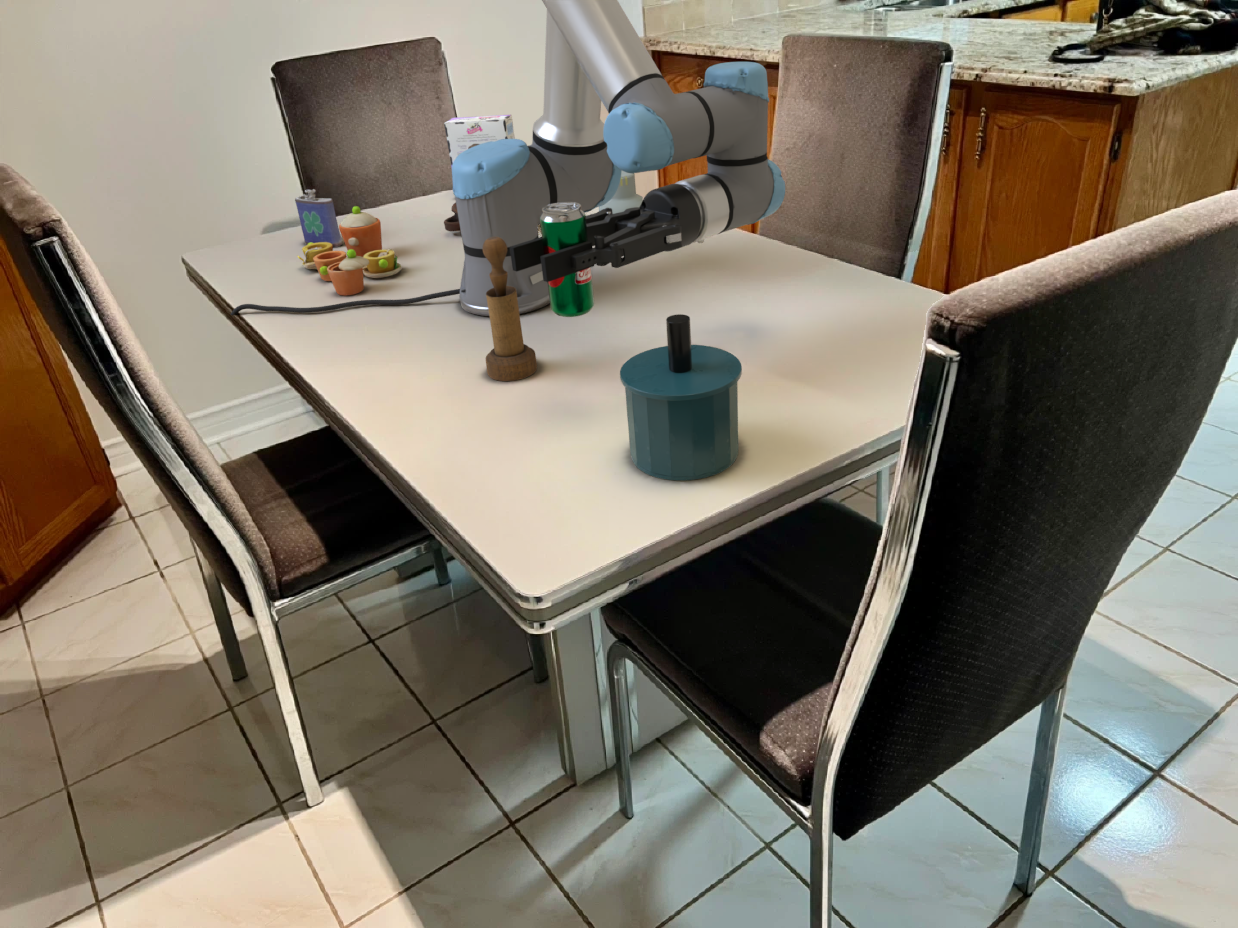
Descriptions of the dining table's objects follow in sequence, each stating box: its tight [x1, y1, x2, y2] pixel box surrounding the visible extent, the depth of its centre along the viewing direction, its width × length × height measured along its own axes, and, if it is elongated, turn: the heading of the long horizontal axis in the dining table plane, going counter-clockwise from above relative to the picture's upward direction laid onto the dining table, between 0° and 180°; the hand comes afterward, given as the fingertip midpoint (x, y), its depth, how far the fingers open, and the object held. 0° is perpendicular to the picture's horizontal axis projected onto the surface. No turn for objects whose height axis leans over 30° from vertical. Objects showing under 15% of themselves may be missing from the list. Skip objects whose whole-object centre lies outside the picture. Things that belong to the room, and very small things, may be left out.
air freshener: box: [598, 171, 644, 214], centre depth 177 cm, size 11×8×10 cm
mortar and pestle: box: [483, 237, 538, 382], centre depth 120 cm, size 7×6×18 cm
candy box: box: [443, 114, 516, 168], centre depth 205 cm, size 14×6×16 cm, turn 79°
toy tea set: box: [297, 205, 402, 296], centre depth 165 cm, size 26×16×10 cm, turn 29°
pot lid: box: [619, 313, 743, 401], centre depth 96 cm, size 13×13×7 cm
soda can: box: [539, 202, 595, 318], centre depth 106 cm, size 5×5×12 cm
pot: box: [624, 382, 739, 482], centre depth 100 cm, size 12×12×10 cm
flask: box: [294, 188, 343, 248], centre depth 182 cm, size 9×3×11 cm, turn 61°
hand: (528, 263), depth 102 cm, fingers closed on soda can, 5 cm apart
